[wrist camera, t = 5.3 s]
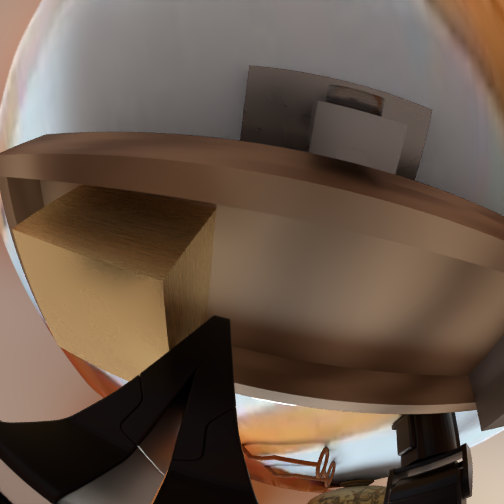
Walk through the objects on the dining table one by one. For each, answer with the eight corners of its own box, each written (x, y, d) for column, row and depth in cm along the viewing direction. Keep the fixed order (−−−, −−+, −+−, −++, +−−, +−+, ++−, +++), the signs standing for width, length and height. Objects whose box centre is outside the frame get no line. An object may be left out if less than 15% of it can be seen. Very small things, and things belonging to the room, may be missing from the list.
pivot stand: (423, 108, 10) (493, 125, 5) (337, 346, 18) (336, 419, 14) (253, 67, 10) (212, 48, 6) (226, 325, 19) (201, 394, 14)
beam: (557, 245, 8) (607, 309, 3) (477, 367, 13) (494, 433, 9) (45, 134, 10) (-39, 172, 6) (75, 285, 16) (26, 341, 11)
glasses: (336, 463, 35) (334, 488, 31) (265, 464, 40) (260, 487, 36) (326, 441, 30) (323, 474, 26) (237, 441, 34) (229, 470, 30)
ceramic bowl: (278, 485, 50) (271, 518, 42) (322, 468, 37) (316, 516, 28) (377, 489, 49) (375, 518, 41) (437, 466, 36) (438, 502, 28)
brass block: (216, 209, 9) (162, 280, 6) (206, 328, 13) (175, 399, 9) (82, 183, 10) (11, 228, 6) (101, 292, 13) (58, 345, 10)
